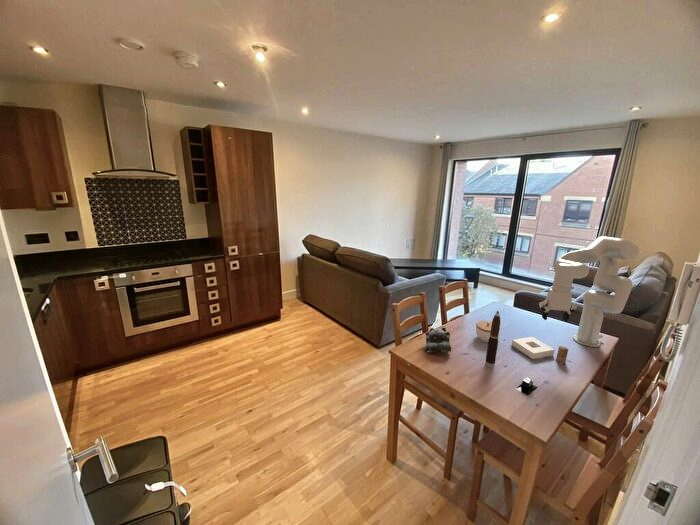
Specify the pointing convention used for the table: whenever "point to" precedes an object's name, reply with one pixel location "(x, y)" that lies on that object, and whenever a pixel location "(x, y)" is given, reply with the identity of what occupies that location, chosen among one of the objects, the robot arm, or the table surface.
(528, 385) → the black blocky piece
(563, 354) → the pin
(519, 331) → the table surface
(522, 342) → the bore block
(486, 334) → the lidded bowl
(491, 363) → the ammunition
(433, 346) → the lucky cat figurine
